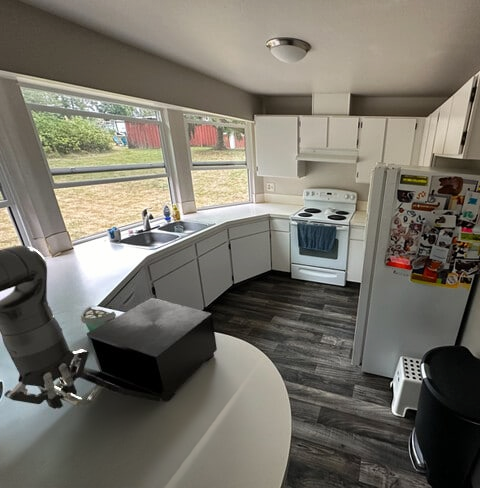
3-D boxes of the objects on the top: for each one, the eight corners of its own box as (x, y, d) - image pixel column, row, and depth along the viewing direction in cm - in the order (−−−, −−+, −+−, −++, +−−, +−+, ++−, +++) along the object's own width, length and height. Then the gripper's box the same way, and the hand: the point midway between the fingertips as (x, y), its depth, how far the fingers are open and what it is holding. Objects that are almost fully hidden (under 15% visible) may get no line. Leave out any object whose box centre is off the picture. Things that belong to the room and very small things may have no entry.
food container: (78, 338, 92) (70, 315, 89) (96, 327, 98) (89, 306, 94) (104, 344, 90) (97, 321, 86) (121, 333, 95) (115, 311, 92)
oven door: (149, 420, 64) (94, 416, 52) (82, 390, 72) (19, 380, 59) (162, 396, 67) (114, 386, 55) (97, 370, 75) (40, 356, 62)
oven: (167, 405, 69) (155, 357, 64) (102, 378, 77) (86, 333, 71) (217, 354, 87) (211, 313, 82) (160, 336, 94) (151, 297, 89)
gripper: (66, 318, 58) (88, 374, 64) (-26, 361, 46) (12, 425, 52) (88, 325, 56) (108, 382, 62) (-3, 372, 44) (34, 438, 50)
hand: (64, 401), depth 57 cm, fingers closed on oven door
